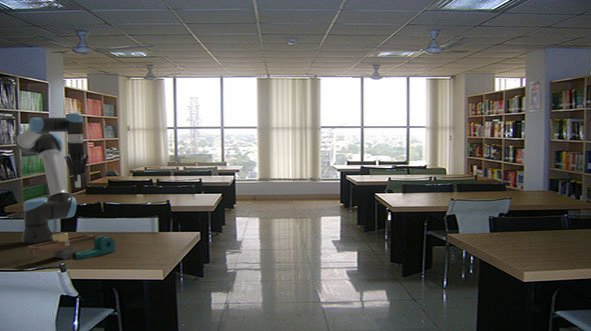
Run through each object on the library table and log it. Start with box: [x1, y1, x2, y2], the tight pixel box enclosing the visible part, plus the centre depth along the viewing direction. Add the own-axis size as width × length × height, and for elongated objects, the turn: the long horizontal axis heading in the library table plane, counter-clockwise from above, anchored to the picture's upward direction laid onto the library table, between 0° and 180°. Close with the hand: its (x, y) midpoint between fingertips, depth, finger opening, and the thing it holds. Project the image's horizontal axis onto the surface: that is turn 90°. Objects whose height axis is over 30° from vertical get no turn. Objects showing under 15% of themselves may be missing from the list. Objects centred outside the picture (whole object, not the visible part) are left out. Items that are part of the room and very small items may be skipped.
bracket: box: [74, 235, 116, 260], centre depth 236 cm, size 18×7×8 cm, turn 144°
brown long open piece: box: [26, 233, 96, 260], centre depth 233 cm, size 9×30×8 cm, turn 149°
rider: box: [52, 232, 69, 244], centre depth 232 cm, size 4×5×5 cm
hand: (78, 187), depth 259 cm, fingers closed
